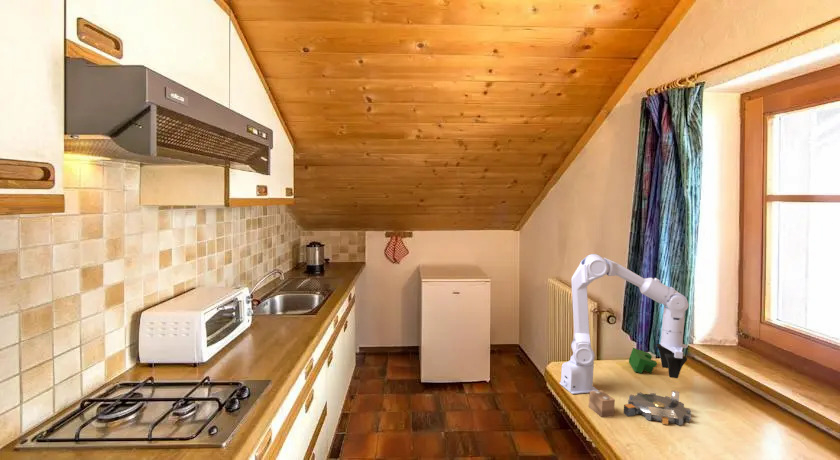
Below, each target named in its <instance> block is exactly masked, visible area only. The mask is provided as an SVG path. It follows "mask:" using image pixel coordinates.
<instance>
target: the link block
mask: <svg viewBox="0 0 840 460" xmlns="http://www.w3.org/2000/svg"><path fill="white" fill-rule="evenodd" d="M588 398H589V399H588V400H589V401H588V402H589V403H588V408H589V409H591V410H592V411H593V412H594V413H595V414H597V415H598V416H599V417H601V418H608V417H609V418H610V417H611V418H612V417H614V416H615V402H616V400H615V398H613V397H611V395H609V394H608V393H606V392H605V391H604V390H598V391H590V393H589V397H588Z"/></svg>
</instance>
